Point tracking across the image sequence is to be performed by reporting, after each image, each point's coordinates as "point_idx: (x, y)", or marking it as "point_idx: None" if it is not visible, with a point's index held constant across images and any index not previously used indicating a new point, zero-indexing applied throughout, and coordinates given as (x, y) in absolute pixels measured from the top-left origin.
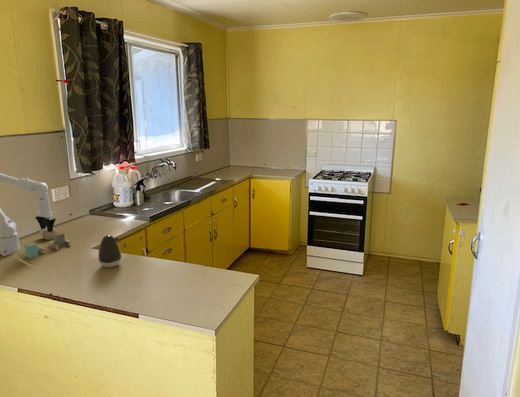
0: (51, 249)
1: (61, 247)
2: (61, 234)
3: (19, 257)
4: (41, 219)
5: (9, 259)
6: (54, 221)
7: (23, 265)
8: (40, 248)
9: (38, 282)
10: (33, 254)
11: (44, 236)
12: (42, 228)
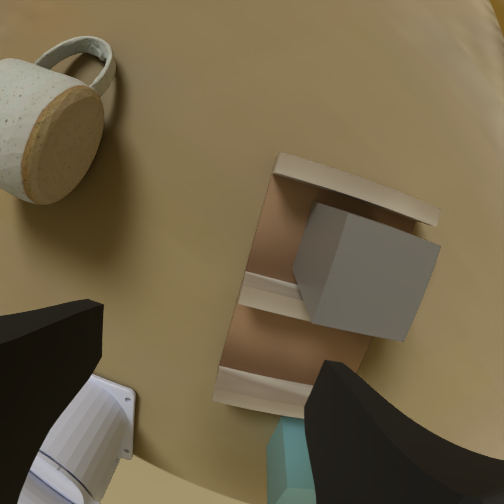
0: (326, 330)
1: None
2: (427, 281)
3: (217, 452)
4: (4, 448)
5: (196, 472)
6: (480, 464)
7: None
8: (303, 415)
9: None
10: None
11: (58, 199)
12: (97, 355)
